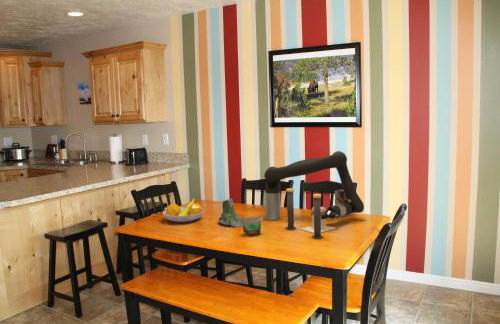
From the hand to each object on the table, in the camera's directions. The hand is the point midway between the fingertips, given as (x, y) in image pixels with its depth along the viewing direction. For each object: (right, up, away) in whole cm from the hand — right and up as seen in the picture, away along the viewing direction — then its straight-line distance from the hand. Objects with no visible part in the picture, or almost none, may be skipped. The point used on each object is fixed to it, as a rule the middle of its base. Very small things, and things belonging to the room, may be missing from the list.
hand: (316, 216), depth 238 cm
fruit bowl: (-80, -7, +33) cm, 87 cm away
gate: (-8, -9, -5) cm, 13 cm away
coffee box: (+22, -4, +33) cm, 40 cm away
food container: (-36, -10, -5) cm, 38 cm away
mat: (+1, -8, +2) cm, 8 cm away
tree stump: (-48, -7, +20) cm, 52 cm away
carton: (+1, -7, +2) cm, 8 cm away
